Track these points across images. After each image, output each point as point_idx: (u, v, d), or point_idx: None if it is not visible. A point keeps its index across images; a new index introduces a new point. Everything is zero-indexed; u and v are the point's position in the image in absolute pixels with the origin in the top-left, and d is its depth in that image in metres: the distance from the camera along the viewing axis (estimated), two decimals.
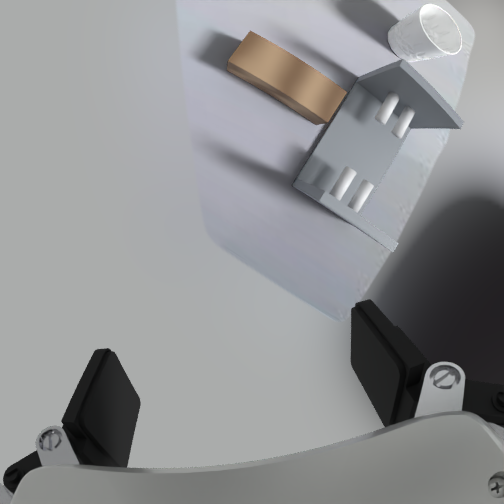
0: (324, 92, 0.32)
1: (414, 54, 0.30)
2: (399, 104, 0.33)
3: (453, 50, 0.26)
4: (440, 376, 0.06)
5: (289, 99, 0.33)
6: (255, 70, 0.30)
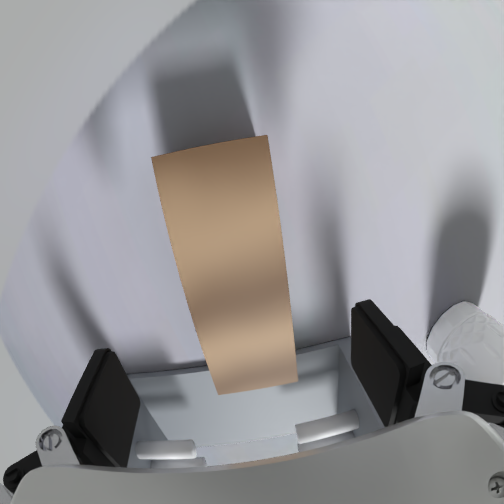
0: (261, 360, 0.16)
1: None
2: None
3: None
4: (440, 376, 0.06)
5: None
6: (181, 227, 0.13)
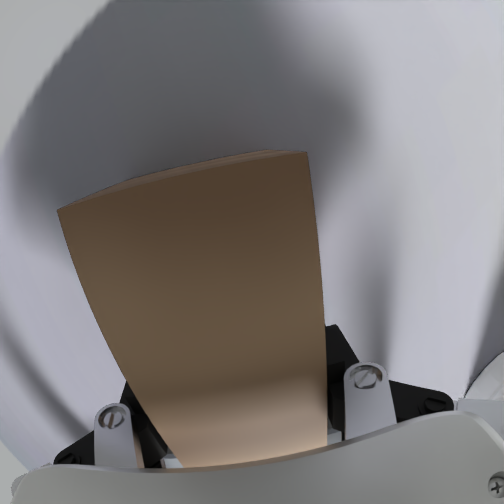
0: None
1: None
2: None
3: None
4: (360, 377, 0.07)
5: None
6: (133, 345, 0.06)
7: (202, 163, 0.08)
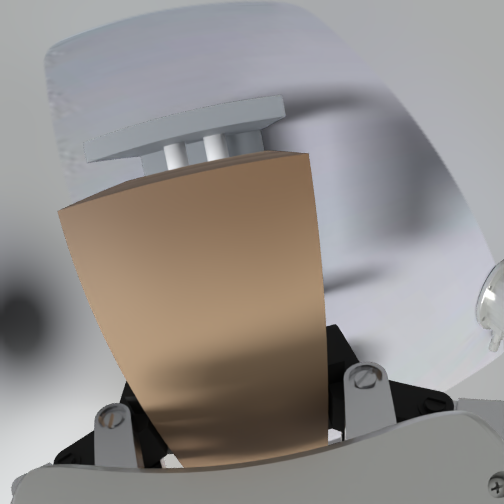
0: None
1: None
2: None
3: None
4: (360, 377, 0.07)
5: None
6: (134, 346, 0.06)
7: (203, 164, 0.08)
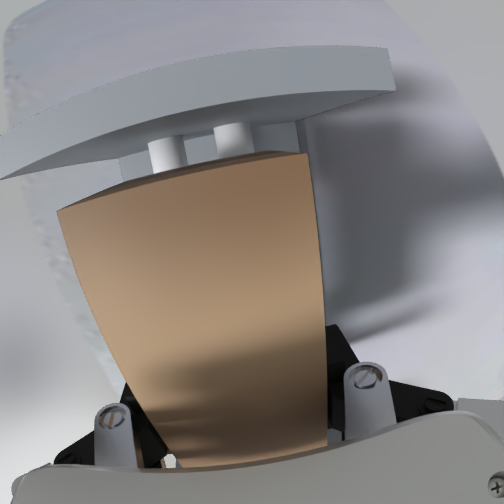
0: None
1: None
2: None
3: None
4: (360, 377, 0.07)
5: None
6: (133, 346, 0.06)
7: (202, 164, 0.08)
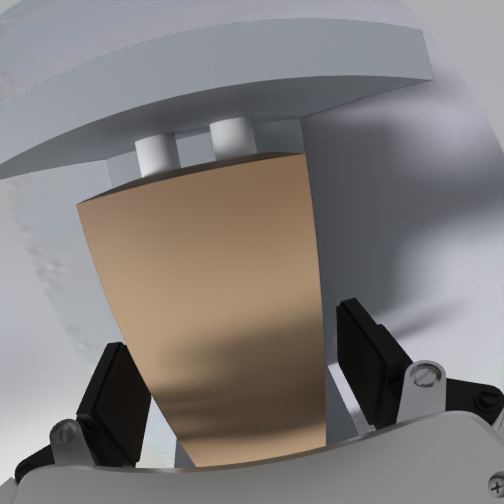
0: None
1: None
2: None
3: None
4: (420, 375, 0.07)
5: None
6: (144, 331, 0.07)
7: (208, 163, 0.09)
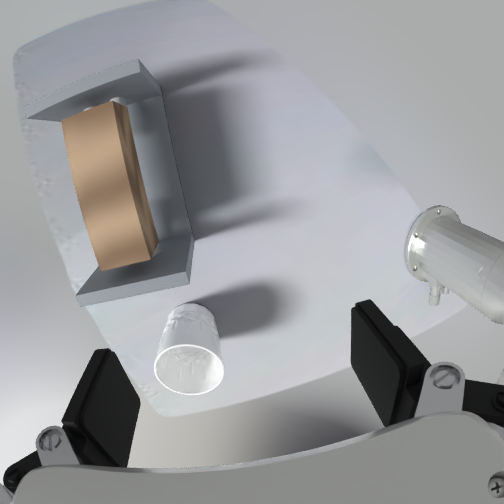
0: (122, 239, 0.24)
1: (177, 319, 0.35)
2: None
3: (158, 366, 0.31)
4: (440, 376, 0.06)
5: None
6: (74, 154, 0.21)
7: None
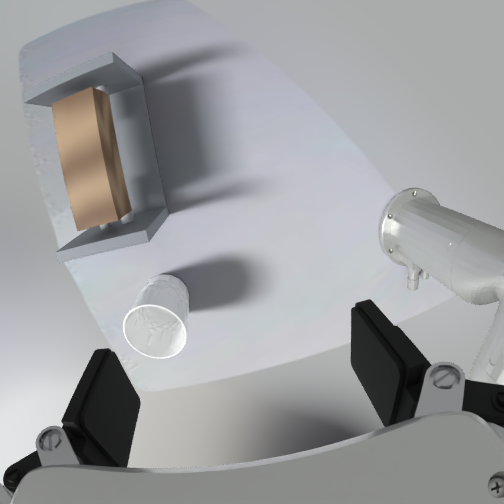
0: (95, 202, 0.27)
1: (149, 286, 0.37)
2: (118, 223, 0.34)
3: (128, 327, 0.34)
4: (440, 376, 0.06)
5: None
6: (60, 131, 0.24)
7: None
